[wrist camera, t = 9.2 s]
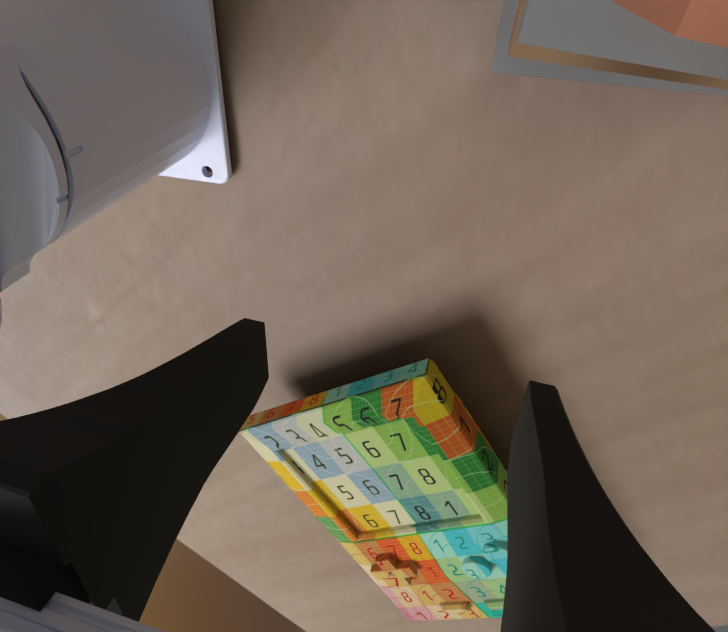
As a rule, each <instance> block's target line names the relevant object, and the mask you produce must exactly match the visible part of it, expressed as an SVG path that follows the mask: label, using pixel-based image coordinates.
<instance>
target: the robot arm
mask: <svg viewBox="0 0 728 632" xmlns="http://www.w3.org/2000/svg"><path fill="white" fill-rule="evenodd" d="M206 166H208V167H210V168H211V169H212V172H213V175H212V174H210V173H208V172H207V170H206ZM157 175H161V176H168V177H175V178H182V179H189V180H196V181H204V182H211V183H218V184H223V183H225V182H227V181H228V180H229V179H230V178H231V175H232V170H231V161H230V152H229V143H228V134H227V125H226V116H225V107H224V98H223V89H222V80H221V71H220V62H219V53H218V45H217V36H216V27H215V18H214V9H213V0H0V292H1V291H3V290H4V289H6V288H7V287H9V286H10V285H12V284H13V283H14V282H16V281H17V280H19V279H20V278H22V277H23V276H25V275H26V274H28V273H29V269H30V262H31V259H32V257H33V256H34V255H35V254H36V253H37V252H39V251H40V250H42V249H43V248H45V247H46V246H48V245H49V244H51V243H53V242H55V241H56V240H58V239H59V238H61V237H62V236H64V235H65V234H67V233H68V232H70V231H72V230H73V229H75V228H76V227H78V226H79V225H81V224H82V223H84V222H86V221H87V220H89V219H90V218H92V217H93V216H95V215H96V214H98V213H100V212H101V211H103V210H104V209H106V208H107V207H109V206H110V205H112V204H113V203H115V202H117V201H118V200H120V199H121V198H123V197H124V196H126V195H127V194H129V193H131V192H132V191H134V190H135V189H137V188H138V187H140V186H141V185H143V184H145V183H146V182H148V181H149V180H151V179H152V178H154V177H155V176H157ZM1 321H2V307H1V299H0V325H1ZM268 378H269V374H268V362H267V349H266V337H265V324H264V322H260V321H255V320H251V319H246V318H244V319H242V320H240V321H238V322H237V323H235V324H233V325H231V326H230V327H228V328H226V329H224V330H223V331H221V332H219V333H218V334H216V335H214V336H213V337H211V338H209V339H208V340H206V341H204V342H202V343H201V344H199V345H197V346H196V347H194V348H192V349H190V350H189V351H187V352H185V353H183V354H182V355H180V356H178V357H176V358H174V359H172V360H170V361H168V362H166V363H164V364H162V365H161V366H159V367H157V368H155V369H153V370H151V371H149V372H147V373H145V374H143V375H140V376H138V377H136V378H134V379H132V380H129V381H127V382H125V383H122V384H120V385H117V386H115V387H113V388H110V389H108V390H105V391H102V392H99V393H96V394H94V395H91V396H88V397H85V398H82V399H79V400H77V401H74V402H71V403H68V404H64V405H61V406H58V407H54V408H51V409H48V410H44V411H40V412H36V413H33V414H29V415H25V416H21V417H17V418H12V419H8V420H3V421H0V632H165V631H162V630H159V629H156V628H154V627H151V626H148V625H146V624H143V623H140V622H139V620H140V618H141V615H142V613H143V610H144V608H145V606H146V603H147V601H148V599H149V596H150V594H151V592H152V589H153V587H154V585H155V582H156V580H157V578H158V576H159V574H160V572H161V569H162V567H163V565H164V563H165V561H166V558H167V556H168V554H169V552H170V550H171V548H172V546H173V544H174V542H175V540H176V538H177V536H178V534H179V532H180V530H181V528H182V526H183V524H184V522H185V520H186V518H187V516H188V514H189V512H190V510H191V508H192V506H193V504H194V502H195V500H196V498H197V496H198V495H199V493H200V491H201V489H202V487H203V485H204V483H205V482H206V480H207V478H208V477H209V475H210V474H211V472H212V470H213V469H214V467H215V466H216V464H217V463H218V461H219V460H220V458H221V457H222V455H223V454H224V452H225V451H226V449H227V448H228V446H229V445H230V443H231V442H232V441H233V439H234V438H235V436H236V435H237V433H238V432H239V430H240V429H241V427H242V426H243V424H244V423H245V421H246V420H247V418H248V416H249V415H250V413H251V412H252V410H253V409H254V407H255V405H256V403H257V401H258V399H259V397H260V395H261V393H262V391H263V389H264V387H265V385H266V382H267V380H268ZM501 632H715V631H714V630H713V629H712V628H711V627H710V626H709V625H708V624H707V623H706V622H705V621H704V620H703V619H702V618H701V617H700V616H699V615H698V614H697V612H696V611H695V610H694V609H693V608H692V607H691V606H690V605H689V604H688V602H687V601H686V600H685V599H684V598H683V597H682V596H681V595H680V593H679V592H678V591H677V590H676V589H675V588H674V587H673V586H672V584H671V583H670V582H669V581H668V580H667V578H666V577H665V576H664V575H663V573H662V572H661V571H660V570H659V568H658V567H657V566H656V565H655V563H654V562H653V561H652V560H651V558H650V557H649V556H648V555H647V553H646V552H645V551H644V549H643V548H642V547H641V546H640V544H639V543H638V541H637V540H636V539H635V537H634V536H633V534H632V533H631V532H630V530H629V529H628V527H627V526H626V525H625V523H624V521H623V520H622V518H621V517H620V515H619V514H618V512H617V511H616V509H615V508H614V506H613V505H612V503H611V501H610V500H609V498H608V497H607V495H606V493H605V491H604V490H603V488H602V486H601V485H600V483H599V481H598V479H597V477H596V476H595V474H594V472H593V470H592V468H591V466H590V464H589V462H588V461H587V459H586V457H585V454H584V452H583V450H582V448H581V446H580V444H579V442H578V440H577V438H576V436H575V433H574V431H573V429H572V427H571V424H570V422H569V419H568V417H567V415H566V412H565V409H564V407H563V404H562V401H561V399H560V396H559V393H558V390H557V389H556V387H555V386H552V385H548V384H543V383H539V382H534V381H530V380H529V383H528V386H527V389H526V393H525V396H524V399H523V402H522V405H521V409H520V412H519V415H518V418H517V421H516V424H515V428H514V431H513V434H512V438H511V446H510V454H509V463H508V472H507V574H506V585H505V595H504V605H503V615H502V624H501Z"/></svg>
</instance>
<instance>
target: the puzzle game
mask: <svg viewBox="0 0 728 632" xmlns="http://www.w3.org/2000/svg"><path fill="white" fill-rule="evenodd" d="M239 431H240V433H241V434H242V435H243V436H244V437H245V438H246V439H247V441H248V442H249V443H250V444H251V445H252V446H253V447H254V448H255V449H256V451H257V452H258V453H259V454H260V455H261V456H262V457H263V458H264V459H265V461H266V462H267V463H268V464H269V465H270V466H271V467H272V468H273V469H274V471H275V472H276V473H277V474H278V475H279V476H280V477H281V478H282V479H283V480H284V482H285V483H286V484H287V485H288V486H289V487H290V488H291V489H292V490H293V492H294V493H295V494H296V495H297V496H298V497H299V498H300V499H301V500H302V502H303V503H304V504H305V505H306V506H307V507H308V508H309V509H310V510H311V511H312V513H313V514H314V515H315V516H316V517H317V518H318V519H319V520H320V521H321V523H322V524H323V525H324V526H325V527H326V528H327V529H328V530H329V531H330V533H331V534H332V535H333V536H334V537H335V538H336V539H337V540H338V541H339V542H340V544H341V545H342V546H343V547H344V548H345V549H346V550H347V551H348V552H349V554H350V555H351V556H352V557H353V558H354V559H355V560H356V561H357V562H358V564H359V565H360V566H361V567H362V568H363V569H364V570H365V571H366V572H367V574H368V575H369V576H370V577H371V578H372V579H373V580H374V581H375V582H376V583H377V585H378V586H379V587H380V588H381V589H382V590H383V591H384V592H385V593H386V595H387V596H388V597H389V598H390V599H391V600H392V601H393V602H394V603H395V605H396V606H397V607H398V608H399V609H400V610H401V611H402V612H403V613H404V614H405V616H406V617H407V618H408V619H409V620H411V621H434V620H456V619H478V618H500V617H502V615H503V605H504V595H505V585H506V574H507V470H506V469H505V467H504V466H503V464H502V463H501V461H500V460H499V458H498V457H497V455H496V453H495V452H494V450H493V449H492V447H491V446H490V444H489V443H488V441H487V440H486V438H485V436H484V435H483V433H482V432H481V430H480V429H479V427H478V426H477V424H476V423H475V421H474V420H473V418H472V416H471V415H470V413H469V412H468V410H467V409H466V407H465V406H464V404H463V403H462V401H461V399H460V398H459V397H458V396H457V395H456V394H455V392H454V391H453V390H452V389H451V387H450V386H449V384H448V383H447V381H446V379H445V378H444V376H443V375H442V373H441V372H440V370H439V369H438V367H437V365H436V364H435V363H434V362H433V361H432V360H431V359H430V358H428V359H425V360H422V361H419V362H415V363H412V364H409V365H406V366H403V367H400V368H397V369H394V370H390V371H387V372H384V373H381V374H378V375H375V376H372V377H369V378H365V379H362V380H359V381H356V382H353V383H350V384H347V385H344V386H340V387H337V388H334V389H331V390H328V391H325V392H322V393H319V394H315V395H312V396H309V397H306V398H303V399H300V400H297V401H294V402H290V403H287V404H284V405H281V406H278V407H275V408H272V409H269V410H265V411H262V412H259V413H256V414H253V415H250V416H248V418H247V420H246V421H245V423H244V424H243V426H242V427H241V429H240V430H239Z"/></svg>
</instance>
